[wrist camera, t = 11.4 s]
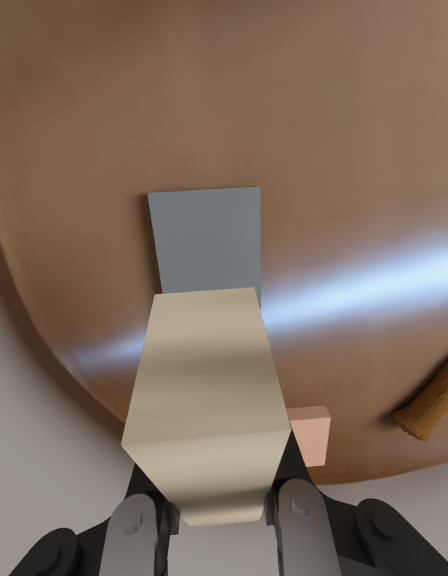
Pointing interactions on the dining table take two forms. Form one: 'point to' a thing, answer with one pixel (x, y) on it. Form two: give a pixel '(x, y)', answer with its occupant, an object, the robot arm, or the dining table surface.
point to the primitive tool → (425, 408)
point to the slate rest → (207, 239)
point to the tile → (311, 432)
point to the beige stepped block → (208, 406)
